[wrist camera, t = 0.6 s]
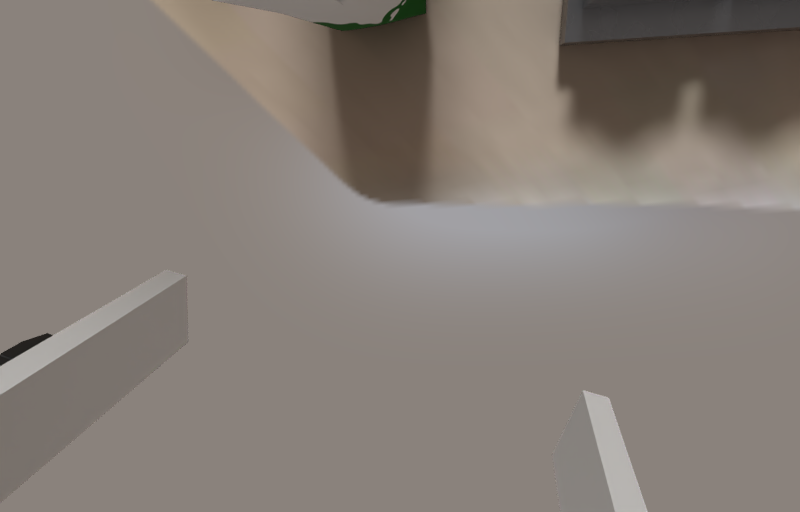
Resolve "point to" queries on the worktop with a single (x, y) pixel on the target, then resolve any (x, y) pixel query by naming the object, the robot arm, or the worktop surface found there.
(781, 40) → the worktop surface
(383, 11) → the milk carton
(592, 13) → the grey frame
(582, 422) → the robot arm
